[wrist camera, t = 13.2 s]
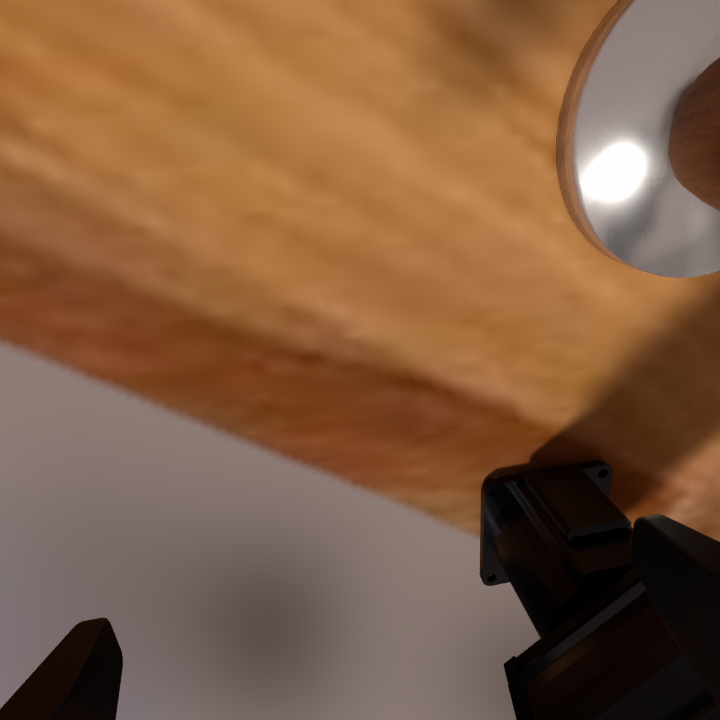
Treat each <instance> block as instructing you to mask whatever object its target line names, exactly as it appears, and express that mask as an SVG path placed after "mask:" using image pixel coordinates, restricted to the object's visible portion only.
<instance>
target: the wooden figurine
mask: <svg viewBox="0 0 720 720" xmlns="http://www.w3.org/2000/svg"><path fill="white" fill-rule="evenodd" d="M668 157H669V160H670V163H671V166H672V169H673V172H674V175H675V178H676V179H677V180H678V181H679V182H680V184H681V185H682V186H683V187H684V188H686V189H687V190H688V191H690V192H691V193H692V194H693V195H695V196H696V197H697V198H699V199H700V200H701V201H703V202H705V203H706V204H708V205H710V206H711V207H713V208H715V209H717V210H718V211H720V58H718V59H717V60H715V61H714V62H712V63H711V64H710V65H709V66H708V67H707V68H706V69H705V70H704V71H703V72H702V73H701V74H700V75H699V76H698V77H697V79H696V80H695V81H694V83H693V84H692V85H691V87H690V88H689V89H688V91H687V92H686V93H685V95H684V96H683V97H682V99H681V100H680V102H679V105H678V108H677V111H676V114H675V117H674V119H673V122H672V125H671V128H670V137H669V146H668Z"/></svg>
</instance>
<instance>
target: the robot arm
mask: <svg viewBox="0 0 720 720" xmlns="http://www.w3.org/2000/svg"><path fill="white" fill-rule="evenodd" d="M601 470H602V471H601ZM600 471H601V472H600ZM611 478H612V468H611V467H610V466H609V465H608V464H607V463H606V462H605V461H603V460H599V461H593V462H587V463H582V464H576V465H570V466H564V467H559V468H553V469H547V470H541V471H535V472H530V473H524V474H518V475H512V476H507V477H501V478H495V479H490V480H487V481H486V482H485V483H484V484H483V485H482V488H481V533H480V577H481V579H482V581H483V583H484V584H485V585H487V586H492V585H497V584H502V583H507V582H510V583H511V585H512V586H513V588H514V590H515V592H516V594H517V595H518V597H519V599H520V601H521V603H522V604H523V607H524V608H525V610H526V612H527V614H528V616H529V618H530V620H531V622H532V623H533V625H534V627H535V629H536V631H537V632H538V634H539V636H540V638H541V639H539V640H538V641H537V642H535V643H534V644H533V645H532V646H530V647H529V648H528V649H526V650H525V651H524V652H523V653H521V654H520V655H519V656H518V657H514V656H513V657H512V658H511V659H510V660H508V661H507V662H506V663H505V664H504V668H505V673H506V677H507V681H508V687H509V691H510V695H511V699H512V703H513V707H514V711H515V715H516V719H517V720H720V542H719V541H717V540H715V539H713V538H710V537H708V536H706V535H704V534H702V533H700V532H698V531H696V530H693V529H691V528H689V527H687V526H685V525H683V524H681V523H679V522H677V521H674V520H672V519H670V518H668V517H666V516H664V515H660V514H654V515H649V516H644V517H639V518H637V520H636V521H635V523H634V527H633V528H632V527H631V521H630V520H629V519H628V518H627V517H626V516H625V515H624V513H623V512H622V511H621V510H620V509H619V508H618V507H617V506H616V505H615V504H614V503H613V502H612V501H611V500H610V499H609V492H610V485H611ZM494 488H496V489H495V490H494V491H492V492H490V491H491V490H492V489H494ZM490 575H491V576H490ZM122 668H123V656H122V651H121V648H120V646H119V644H118V641H117V638H116V636H115V633H114V631H113V628H112V626H111V623H110V622H109V620H108V619H107V618H97V619H92V620H87V621H82V622H80V623H78V624H77V625H76V626H75V627H73V629H72V630H71V631H70V632H69V633H68V634H67V635H66V636H65V637H64V639H63V640H62V641H61V642H60V643H59V644H58V645H57V646H56V648H55V649H54V650H53V651H52V652H51V653H50V654H49V655H48V656H47V658H46V659H45V660H44V661H43V662H42V663H41V664H40V665H39V666H38V668H37V669H36V670H35V671H34V672H33V673H32V674H31V675H30V677H29V678H28V679H27V680H26V681H25V682H24V683H23V684H22V686H21V687H20V688H19V689H18V690H17V691H16V692H15V693H14V694H13V696H12V697H11V698H10V699H9V700H8V701H7V702H6V703H5V704H4V705H3V707H2V708H1V709H0V720H116V713H117V704H118V698H119V691H120V683H121V676H122Z"/></svg>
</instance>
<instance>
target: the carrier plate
mask: <svg viewBox="0 0 720 720" xmlns="http://www.w3.org/2000/svg"><path fill="white" fill-rule="evenodd" d="M718 58H720V0H619V1H618V2H617V3H616V5H615V6H614V7H613V8H612V9H611V10H610V11H609V12H608V14H607V15H606V16H605V18H604V19H603V20H602V22H601V23H600V24H599V26H598V27H597V28H596V30H595V31H594V33H593V34H592V36H591V38H590V39H589V41H588V43H587V44H586V46H585V48H584V49H583V51H582V53H581V55H580V57H579V59H578V61H577V64H576V66H575V68H574V70H573V72H572V75H571V77H570V80H569V83H568V86H567V89H566V92H565V95H564V99H563V103H562V107H561V111H560V116H559V122H558V130H557V138H556V163H557V172H558V180H559V184H560V188H561V193H562V197H563V199H564V202H565V205H566V207H567V210H568V212H569V214H570V216H571V218H572V220H573V221H574V223H575V225H576V227H577V228H578V229H579V231H580V232H581V233H582V234H583V236H584V237H585V238H586V239H587V241H589V242H590V243H591V244H592V245H593V246H594V247H595V248H596V249H597V250H599V251H600V252H602V253H603V254H605V255H606V256H608V257H610V258H611V259H614V260H616V261H618V262H621V263H623V264H626V265H628V266H631V267H634V268H637V269H639V270H642V271H645V272H648V273H651V274H655V275H660V276H664V277H676V278H683V277H697V276H702V275H707V274H712V273H715V272H718V271H720V211H718V210H717V209H715V208H713V207H711V206H710V205H708V204H706V203H705V202H703V201H701V200H700V199H699V198H697V197H696V196H695V195H693V194H692V193H691V192H690V191H688V190H687V189H686V188H684V187H683V186H682V185H681V184H680V182H679V181H678V180H677V179H676V178H675V175H674V172H673V169H672V166H671V163H670V160H669V157H668V146H669V137H670V128H671V125H672V122H673V119H674V117H675V114H676V111H677V108H678V105H679V102H680V100H681V99H682V97H683V96H684V95H685V93H686V92H687V91H688V89H689V88H690V87H691V85H692V84H693V83H694V81H695V80H696V79H697V77H698V76H699V75H700V74H701V73H702V72H703V71H704V70H705V69H706V68H707V67H708V66H709V65H710V64H711V63H712V62H714V61H715V60H717V59H718Z"/></svg>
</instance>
